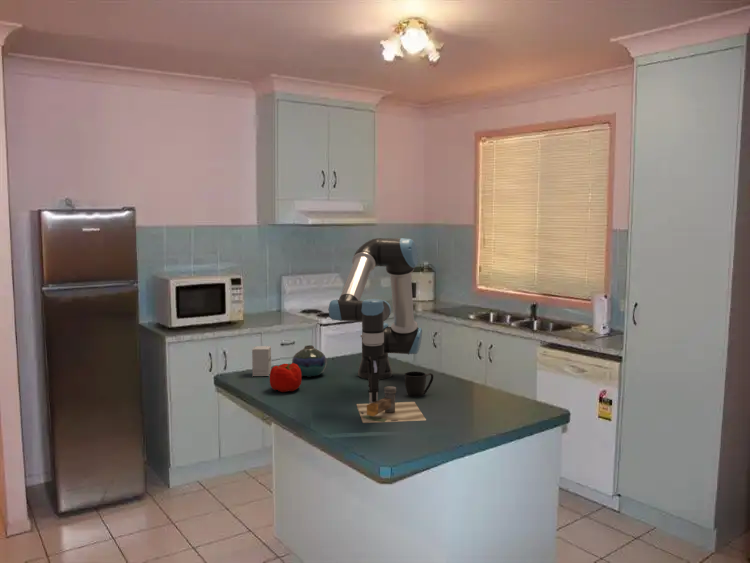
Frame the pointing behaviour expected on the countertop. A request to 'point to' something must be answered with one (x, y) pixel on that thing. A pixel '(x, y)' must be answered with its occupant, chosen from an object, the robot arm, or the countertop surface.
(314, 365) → the vase
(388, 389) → the peg lever
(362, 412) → the dial board
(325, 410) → the countertop surface
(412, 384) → the mug
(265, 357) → the supplement box
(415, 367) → the countertop surface
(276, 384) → the tomato
